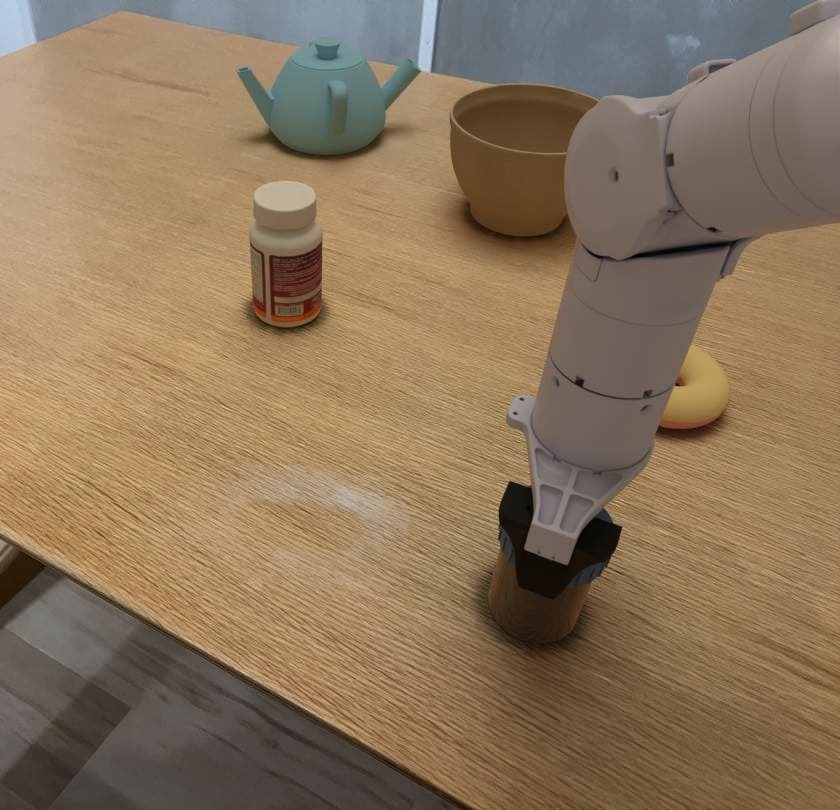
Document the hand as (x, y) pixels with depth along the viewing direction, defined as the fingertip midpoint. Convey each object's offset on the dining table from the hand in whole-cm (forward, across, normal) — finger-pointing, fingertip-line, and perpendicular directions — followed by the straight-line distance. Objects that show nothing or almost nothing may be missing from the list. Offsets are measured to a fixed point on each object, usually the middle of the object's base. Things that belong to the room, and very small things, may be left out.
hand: (552, 545), depth 47 cm
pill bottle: (+6, -21, -28) cm, 35 cm away
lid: (-2, 0, 0) cm, 2 cm away
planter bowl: (+6, -47, -14) cm, 49 cm away
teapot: (+6, -56, -40) cm, 69 cm away
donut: (+6, -24, +4) cm, 25 cm away
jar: (+6, 0, 0) cm, 6 cm away
